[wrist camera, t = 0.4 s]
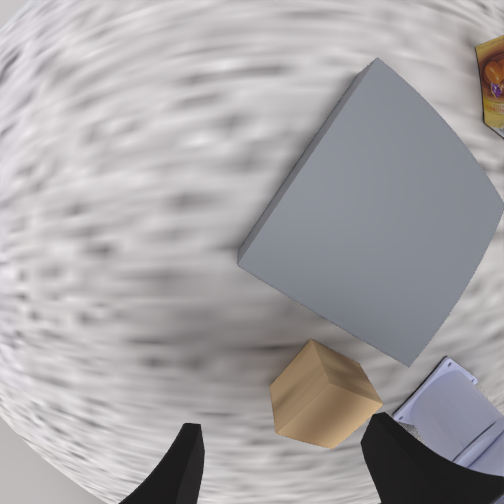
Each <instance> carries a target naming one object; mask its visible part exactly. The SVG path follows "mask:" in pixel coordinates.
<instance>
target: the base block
mask: <svg viewBox="0 0 504 504" xmlns="http://www.w3.org/2000/svg"><path fill="white" fill-rule="evenodd" d="M503 211H504V202H503V200H502V199H501V197H500V195H499V194H498V192H497V190H496V189H495V187H494V185H493V184H492V182H491V181H490V179H489V178H488V176H487V175H486V173H485V172H484V170H483V169H482V167H481V166H480V164H479V163H478V162H477V160H476V159H475V157H474V156H473V155H472V153H471V152H470V151H469V149H468V148H467V147H466V146H465V144H464V143H463V142H462V140H461V139H460V138H459V137H458V136H457V134H456V133H455V132H454V131H453V130H452V128H451V127H450V126H449V125H448V124H447V123H446V121H445V120H444V119H443V118H442V117H441V116H440V115H439V114H438V113H437V111H436V110H435V109H434V108H433V107H432V106H431V105H430V104H429V103H428V102H427V101H426V100H425V99H424V98H423V97H422V96H421V95H420V94H419V93H418V92H417V91H416V90H415V89H414V88H413V87H412V86H410V85H409V84H408V83H407V82H406V81H405V80H404V79H403V78H402V77H401V76H399V75H398V74H397V73H396V72H395V71H394V70H392V69H391V68H390V67H389V66H388V65H386V64H385V63H384V62H383V61H381V60H380V59H379V58H378V57H377V58H376V59H375V60H374V61H373V62H371V63H370V64H369V65H368V66H367V67H366V68H365V69H363V70H362V71H361V72H360V73H359V74H358V75H357V77H356V78H355V80H354V81H353V82H352V84H351V85H350V87H349V88H348V90H347V91H346V92H345V94H344V95H343V97H342V98H341V100H340V101H339V103H338V104H337V105H336V107H335V108H334V110H333V111H332V113H331V114H330V116H329V117H328V118H327V120H326V121H325V123H324V124H323V126H322V127H321V129H320V130H319V132H318V133H317V134H316V136H315V137H314V139H313V140H312V142H311V143H310V145H309V146H308V148H307V149H306V151H305V152H304V154H303V155H302V156H301V158H300V159H299V161H298V162H297V164H296V165H295V167H294V168H293V170H292V171H291V173H290V174H289V176H288V177H287V179H286V180H285V182H284V183H283V185H282V186H281V188H280V189H279V190H278V192H277V193H276V195H275V196H274V198H273V199H272V201H271V202H270V204H269V205H268V207H267V208H266V210H265V211H264V213H263V214H262V216H261V217H260V219H259V220H258V222H257V223H256V225H255V226H254V228H253V229H252V231H251V232H250V234H249V235H248V237H247V238H246V240H245V241H244V243H243V245H242V246H241V248H240V249H239V251H238V259H237V265H238V266H239V267H241V268H242V269H244V270H246V271H247V272H249V273H251V274H252V275H254V276H255V277H257V278H259V279H260V280H262V281H264V282H265V283H267V284H269V285H270V286H272V287H273V288H275V289H277V290H278V291H280V292H282V293H283V294H285V295H287V296H288V297H290V298H292V299H293V300H295V301H297V302H298V303H300V304H302V305H303V306H305V307H307V308H308V309H310V310H312V311H313V312H315V313H317V314H318V315H320V316H322V317H323V318H325V319H327V320H328V321H330V322H332V323H333V324H335V325H337V326H339V327H340V328H342V329H344V330H345V331H347V332H349V333H350V334H352V335H354V336H356V337H357V338H359V339H361V340H362V341H364V342H366V343H368V344H369V345H371V346H373V347H375V348H376V349H378V350H380V351H381V352H383V353H385V354H387V355H388V356H390V357H392V358H394V359H395V360H397V361H399V362H401V363H402V364H404V365H406V366H408V367H410V365H411V364H412V363H413V362H414V361H415V359H416V358H417V357H418V356H419V354H420V353H421V352H422V351H423V349H424V348H425V347H426V346H427V344H428V343H429V342H430V340H431V339H432V338H433V336H434V335H435V334H436V332H437V331H438V330H439V328H440V327H441V325H442V324H443V323H444V321H445V320H446V318H447V317H448V315H449V314H450V312H451V311H452V309H453V308H454V306H455V305H456V303H457V302H458V300H459V298H460V297H461V295H462V294H463V292H464V290H465V289H466V287H467V285H468V283H469V282H470V280H471V278H472V277H473V275H474V273H475V271H476V269H477V267H478V266H479V264H480V262H481V260H482V258H483V256H484V254H485V252H486V250H487V248H488V246H489V244H490V242H491V239H492V237H493V235H494V233H495V231H496V228H497V226H498V224H499V221H500V219H501V216H502V214H503Z"/></svg>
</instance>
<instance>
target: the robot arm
mask: <svg viewBox="0 0 504 504" xmlns="http://www.w3.org/2000/svg"><path fill="white" fill-rule="evenodd" d="M477 382H478V379H477V378H476V377H474V376H473V375H472V374H470V373H469V372H468V371H467V370H465V369H464V368H463V367H461V366H460V365H459V364H457V363H456V362H455V361H453V360H452V359H451V358H449V357H446V358H445V359H444V360H443V361H442V362H441V363H440V365H439V366H438V367H437V368H436V370H435V371H434V372H433V373H432V374H431V376H430V377H429V378H428V379H427V380H426V381H425V382H424V384H423V385H422V386H421V387H420V388H419V389H418V390H417V391H416V392H415V393H414V395H413V396H412V397H411V398H410V399H409V400H408V401H407V402H406V403H405V404H404V405H403V406H402V407H401V408H400V409H399V410H398V411H397V412H396V413H395V414H394V415H393V419H392V418H391V417H390V416H389V415H388V414H387V413H385V412H383V413H378V414H373V415H372V418H371V420H370V422H369V425H368V427H367V429H366V431H365V434H364V436H363V438H362V440H361V446H362V451H363V455H364V459H365V462H366V464H367V467H368V469H369V472H370V474H371V477H372V479H373V481H374V484H375V486H376V489H377V491H378V494H379V497H380V499H381V503H382V504H504V416H503V415H502V414H501V413H500V412H499V411H498V409H497V408H496V407H495V406H494V405H493V404H492V403H491V402H490V401H489V400H488V399H487V398H486V397H485V396H484V395H483V394H482V392H481V391H480V390H479V389H478V388H477V387H476V386H475V385H476V383H477ZM396 421H399V422H402V423H406V424H409V425H413V426H415V428H416V429H417V431H418V432H419V434H420V436H421V437H422V439H423V440H424V442H425V444H426V445H427V446H425V445H424V444H422V443H421V442H420V441H419V440H417V439H416V438H415V437H413V436H412V435H411V434H410V433H409V432H407V431H406V430H405V429H404V428H403V427H402V426H400V425H399V424H398V423H397V422H396ZM204 455H205V450H204V443H203V437H202V431H201V424H193V423H184V424H183V426H182V428H181V430H180V432H179V434H178V435H177V437H176V439H175V440H174V442H173V444H172V445H171V447H170V448H169V450H168V451H167V453H166V454H165V456H164V457H163V458H162V460H161V461H160V463H159V464H158V465H157V466H156V468H155V469H154V470H153V471H152V472H151V474H150V475H149V476H148V477H147V478H146V479H145V480H144V481H143V482H142V483H141V485H140V486H138V487H137V488H136V489H135V490H134V491H133V492H132V493H131V494H130V495H129V496H127V497H126V498H125V499H124V500H123V501H121V502H120V503H119V504H197V499H198V495H199V490H200V485H201V480H202V475H203V468H204Z"/></svg>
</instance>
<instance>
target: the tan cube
mask: <svg viewBox="0 0 504 504" xmlns="http://www.w3.org/2000/svg"><path fill="white" fill-rule="evenodd" d="M270 393H271V401H272V408H273V416H274V424H275V431H276V434H279V435H282V436H285V437H289V438H292V439H295V440H299V441H302V442H306V443H310V444H314V445H317V446H322V447H326V448H330V449H333V448H334V447H336V446H337V445H338V444H340V443H341V442H342V441H343V440H344V439H346V438H347V437H348V436H349V435H350V434H352V433H353V432H354V431H355V430H356V429H357V428H359V427H360V426H361V425H362V424H363V423H364V422H365V421H366V420H368V419H369V418H370V417H371V416H372V415H373V414H374V413H375V412H376V411H377V410H378V409H379V408H380V407H381V406H382V405H383V403H382V401H381V399H380V398H379V396H378V394H377V393H376V391H375V389H374V388H373V386H372V384H371V383H370V381H369V379H368V378H367V376H366V374H365V373H364V371H363V369H362V368H361V366H360V364H359V363H357V362H355V361H353V360H351V359H349V358H347V357H345V356H343V355H341V354H339V353H337V352H336V351H334V350H332V349H330V348H328V347H326V346H324V345H322V344H320V343H319V342H317V341H315V340H313V339H310V340H309V342H308V343H307V344H306V345H305V346H304V348H303V349H302V350H301V351H300V352H299V353H298V355H297V356H296V357H295V358H294V359H293V360H292V362H291V363H290V364H289V365H288V366H287V367H286V368H285V370H284V371H283V372H282V373H281V374H280V375H279V376H278V377H277V378H276V379H275V381H274V382H273V383H272V384H271V385H270Z"/></svg>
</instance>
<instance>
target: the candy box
mask: <svg viewBox="0 0 504 504" xmlns="http://www.w3.org/2000/svg"><path fill="white" fill-rule="evenodd" d="M476 53H477V59H478V64H479V69H480V76H481V84H482V93H483V105H484V118H485V124H487V125H488V126H489V127H491V128H492V129H493V130H494V131H496V132H497V133H498V134H500V135H501V136H502V137H503V138H504V35H503V36H500V37H498V38H495V39H493V40H490V41H488V42H486V43H483V44H481V45H479V46H476Z"/></svg>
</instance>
